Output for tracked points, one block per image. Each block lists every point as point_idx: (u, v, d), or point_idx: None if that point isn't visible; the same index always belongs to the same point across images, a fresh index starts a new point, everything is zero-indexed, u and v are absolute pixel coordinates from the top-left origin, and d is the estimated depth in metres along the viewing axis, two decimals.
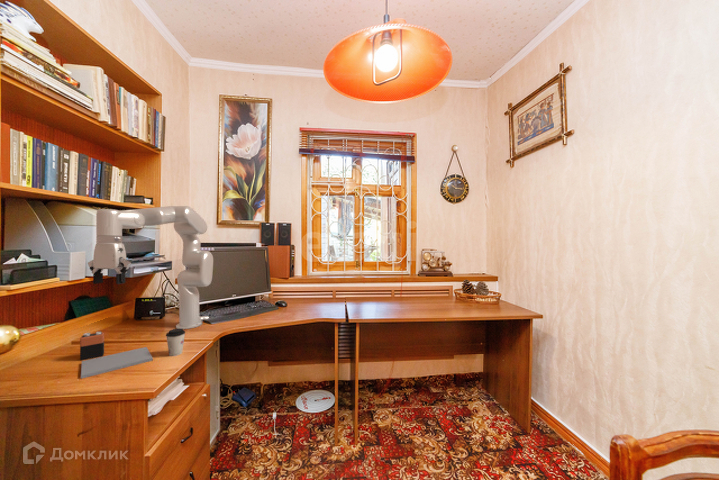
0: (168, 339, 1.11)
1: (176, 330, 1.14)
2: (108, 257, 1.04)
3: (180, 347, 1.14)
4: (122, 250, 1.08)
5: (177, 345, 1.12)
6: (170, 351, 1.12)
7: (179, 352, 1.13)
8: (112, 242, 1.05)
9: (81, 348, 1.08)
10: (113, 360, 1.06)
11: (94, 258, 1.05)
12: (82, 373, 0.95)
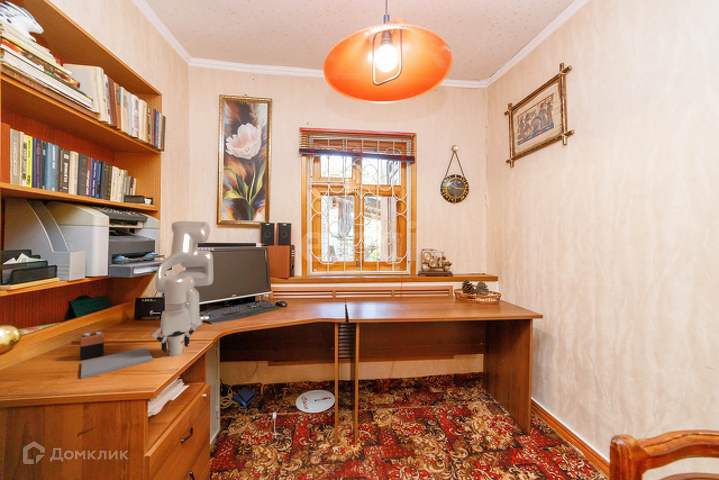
0: (168, 339, 1.11)
1: None
2: (183, 322, 1.14)
3: (180, 347, 1.14)
4: None
5: (177, 345, 1.12)
6: (170, 351, 1.12)
7: (179, 352, 1.13)
8: (185, 308, 1.15)
9: (81, 348, 1.08)
10: (113, 360, 1.06)
11: (166, 326, 1.10)
12: (82, 373, 0.95)
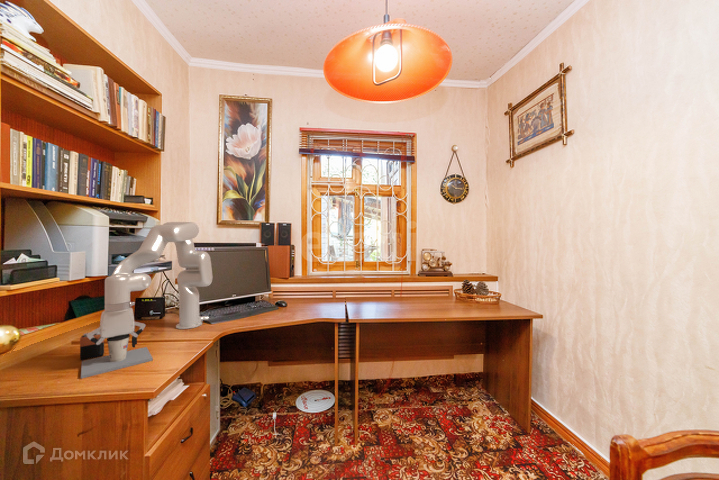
0: (109, 344, 1.04)
1: None
2: (125, 323, 1.06)
3: (123, 352, 1.06)
4: None
5: (119, 350, 1.05)
6: (111, 356, 1.04)
7: (121, 358, 1.06)
8: (128, 308, 1.07)
9: (81, 348, 1.08)
10: None
11: (105, 328, 1.02)
12: (82, 373, 0.95)
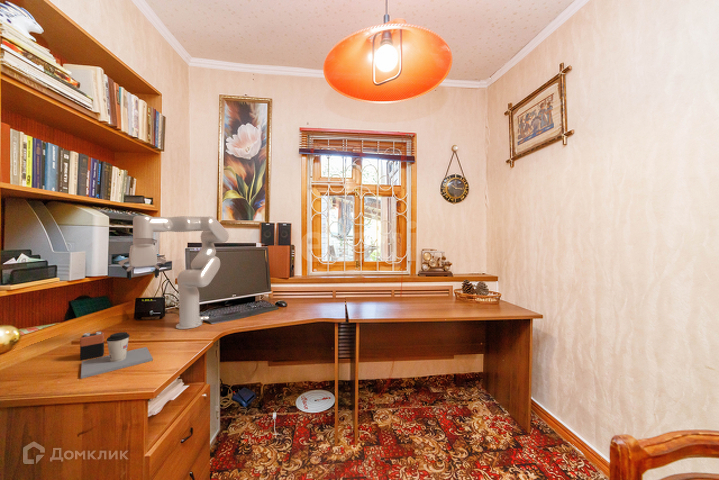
0: (108, 344, 1.04)
1: (118, 334, 1.06)
2: (149, 256, 1.26)
3: (122, 352, 1.06)
4: None
5: (118, 350, 1.05)
6: (111, 357, 1.04)
7: (121, 358, 1.06)
8: (152, 243, 1.27)
9: (81, 348, 1.08)
10: None
11: (133, 257, 1.22)
12: (82, 373, 0.95)
